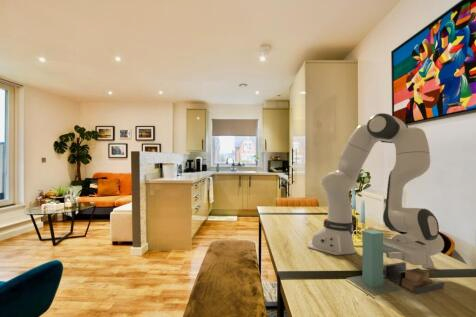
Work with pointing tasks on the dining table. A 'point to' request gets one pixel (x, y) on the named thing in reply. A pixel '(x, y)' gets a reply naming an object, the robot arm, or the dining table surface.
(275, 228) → the dining table surface
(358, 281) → the rubber mat
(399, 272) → the rack
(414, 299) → the dining table surface
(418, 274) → the upper walnut offcut
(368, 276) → the teal rectangular block
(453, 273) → the dining table surface
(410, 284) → the lower walnut offcut
